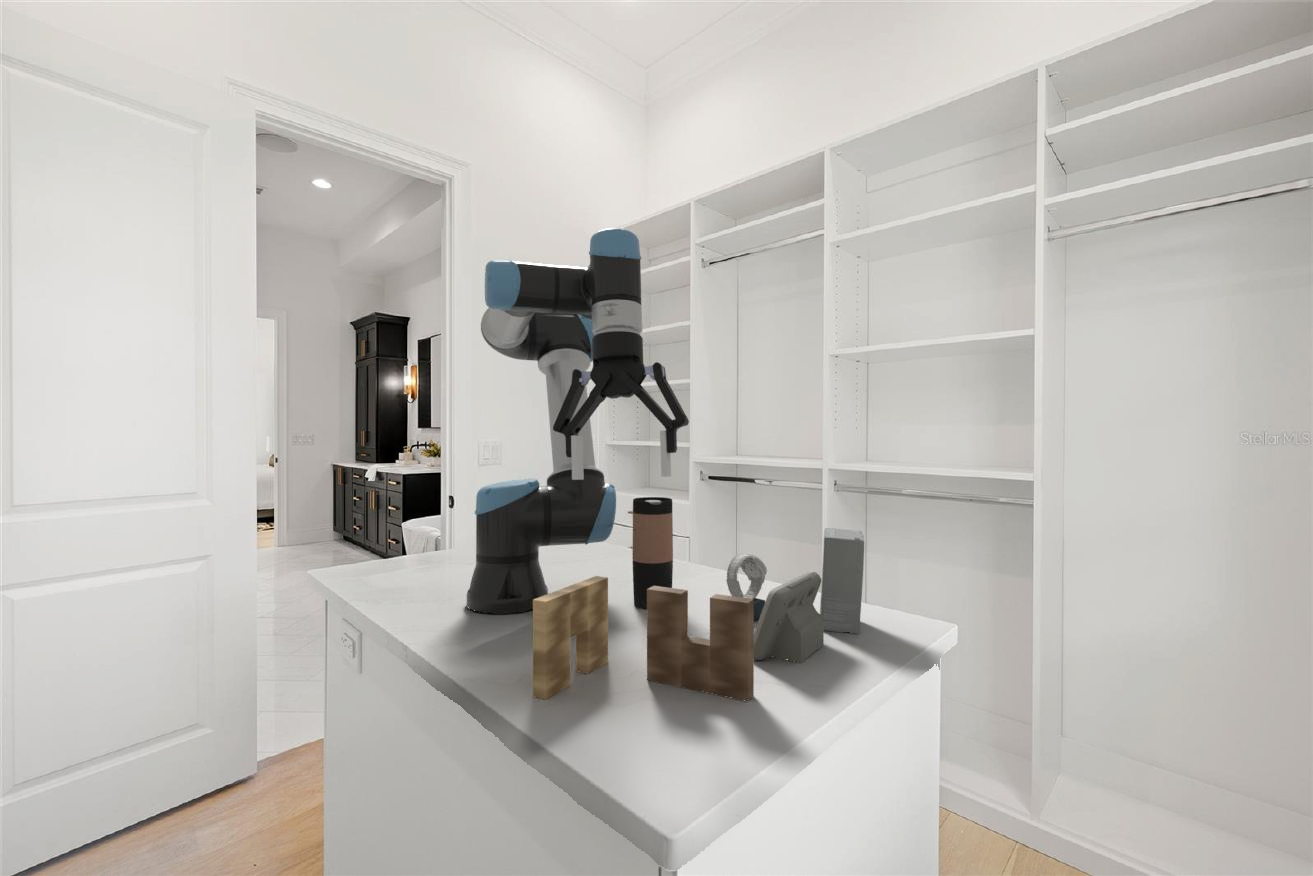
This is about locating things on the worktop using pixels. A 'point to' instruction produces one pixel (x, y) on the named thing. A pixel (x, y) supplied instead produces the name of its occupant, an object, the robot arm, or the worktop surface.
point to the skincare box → (842, 580)
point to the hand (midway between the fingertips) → (621, 478)
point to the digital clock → (790, 621)
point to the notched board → (569, 634)
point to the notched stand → (701, 644)
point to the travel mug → (651, 546)
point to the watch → (754, 573)
